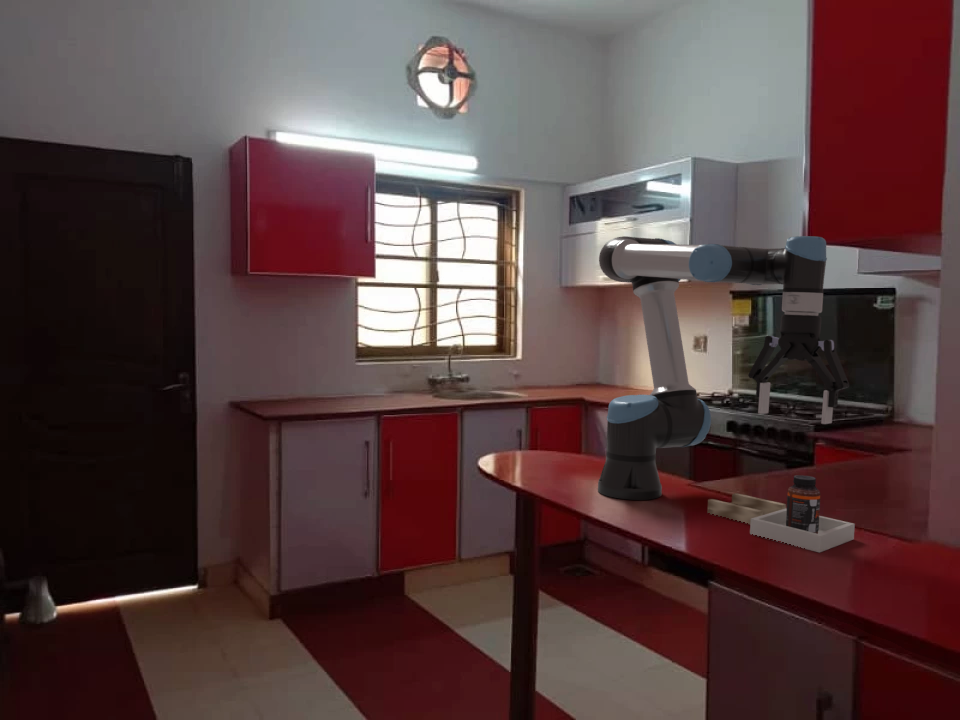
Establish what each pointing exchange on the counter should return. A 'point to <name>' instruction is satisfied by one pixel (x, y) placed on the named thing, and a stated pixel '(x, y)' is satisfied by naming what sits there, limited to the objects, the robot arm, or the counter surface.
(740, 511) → the cradle
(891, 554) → the counter surface
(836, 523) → the tray
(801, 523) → the supplement bottle
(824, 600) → the counter surface
